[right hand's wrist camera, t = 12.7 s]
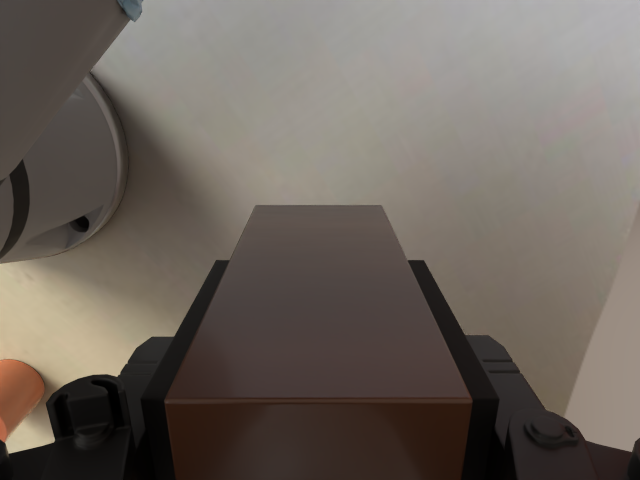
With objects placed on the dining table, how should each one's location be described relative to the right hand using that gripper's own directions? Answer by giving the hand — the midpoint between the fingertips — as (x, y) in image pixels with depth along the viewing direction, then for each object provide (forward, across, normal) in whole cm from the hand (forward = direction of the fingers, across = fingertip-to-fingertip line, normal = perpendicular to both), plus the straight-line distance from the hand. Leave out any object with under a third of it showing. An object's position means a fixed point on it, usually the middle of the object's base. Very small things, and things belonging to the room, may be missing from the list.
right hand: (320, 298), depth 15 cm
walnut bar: (+1, 0, -9) cm, 9 cm away
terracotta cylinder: (+19, -26, -18) cm, 37 cm away
